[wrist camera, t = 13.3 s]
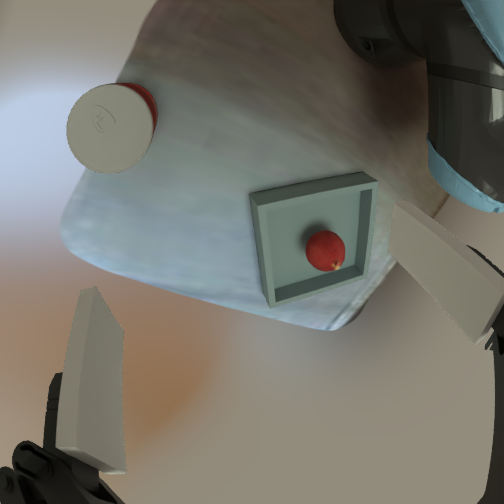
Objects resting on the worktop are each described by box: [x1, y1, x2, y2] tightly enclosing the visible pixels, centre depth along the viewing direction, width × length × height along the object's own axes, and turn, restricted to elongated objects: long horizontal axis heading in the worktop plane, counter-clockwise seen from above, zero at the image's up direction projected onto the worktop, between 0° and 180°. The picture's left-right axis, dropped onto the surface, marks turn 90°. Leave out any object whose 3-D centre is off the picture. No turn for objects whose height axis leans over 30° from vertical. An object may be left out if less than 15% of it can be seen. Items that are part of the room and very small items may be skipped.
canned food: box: [67, 83, 158, 174], centre depth 25 cm, size 8×8×11 cm
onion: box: [305, 230, 345, 272], centre depth 42 cm, size 6×6×8 cm
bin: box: [249, 172, 378, 308], centre depth 44 cm, size 18×18×4 cm
